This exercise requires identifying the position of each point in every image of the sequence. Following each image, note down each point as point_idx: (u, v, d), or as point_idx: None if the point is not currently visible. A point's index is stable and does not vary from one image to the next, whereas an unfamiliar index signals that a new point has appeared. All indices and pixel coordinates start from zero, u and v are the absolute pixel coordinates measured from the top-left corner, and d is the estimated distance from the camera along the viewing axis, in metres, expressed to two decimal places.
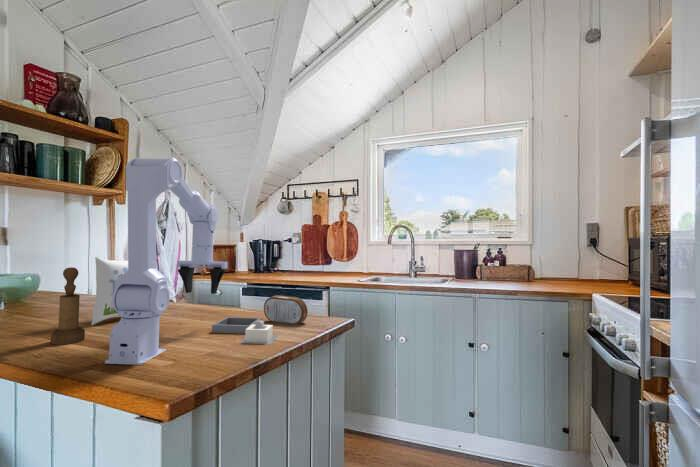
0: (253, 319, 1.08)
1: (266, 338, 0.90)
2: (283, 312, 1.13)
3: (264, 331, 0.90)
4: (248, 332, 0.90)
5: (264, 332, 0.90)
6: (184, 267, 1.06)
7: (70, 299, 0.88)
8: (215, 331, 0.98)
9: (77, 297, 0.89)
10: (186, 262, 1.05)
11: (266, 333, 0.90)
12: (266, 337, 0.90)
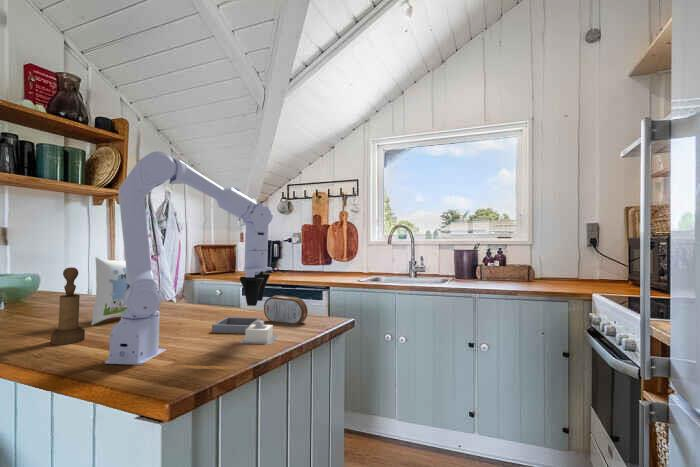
0: (253, 319, 1.08)
1: (266, 338, 0.90)
2: (283, 312, 1.13)
3: (264, 331, 0.90)
4: (248, 332, 0.90)
5: (264, 332, 0.90)
6: None
7: (70, 299, 0.88)
8: (215, 331, 0.98)
9: (77, 297, 0.89)
10: None
11: (266, 333, 0.90)
12: (266, 337, 0.90)
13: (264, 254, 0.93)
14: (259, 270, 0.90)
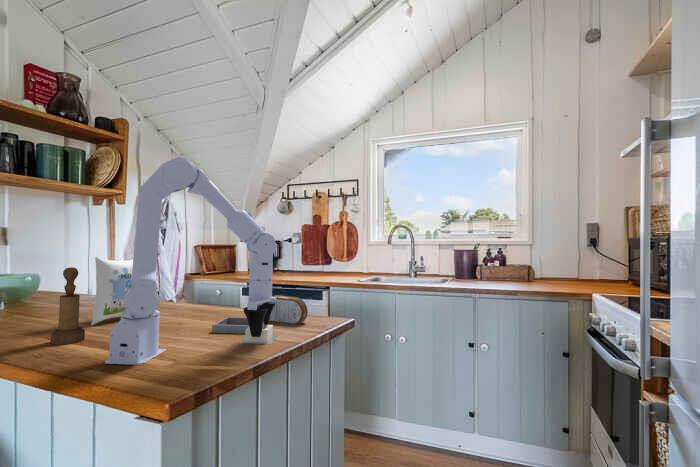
0: None
1: (266, 338, 0.90)
2: (283, 312, 1.13)
3: (264, 331, 0.90)
4: (248, 332, 0.90)
5: (264, 332, 0.90)
6: None
7: (70, 299, 0.88)
8: (215, 331, 0.98)
9: (77, 297, 0.89)
10: None
11: (266, 333, 0.90)
12: (266, 337, 0.90)
13: (268, 284, 0.91)
14: (262, 301, 0.88)
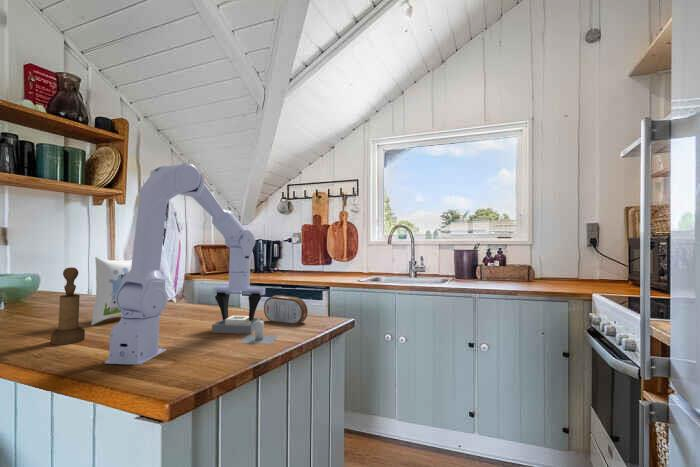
0: (253, 319, 1.08)
1: (250, 323, 1.06)
2: (283, 312, 1.13)
3: None
4: (245, 321, 1.01)
5: None
6: (220, 293, 1.03)
7: (70, 299, 0.88)
8: (215, 331, 0.98)
9: (77, 297, 0.89)
10: (223, 289, 1.02)
11: None
12: (250, 322, 1.06)
13: None
14: None
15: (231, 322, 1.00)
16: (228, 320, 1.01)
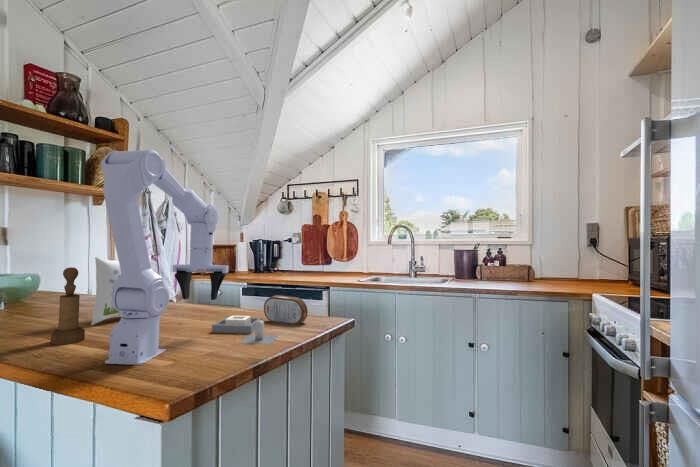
0: (253, 319, 1.08)
1: (250, 323, 1.06)
2: (283, 312, 1.13)
3: (250, 317, 1.05)
4: (245, 321, 1.01)
5: (250, 318, 1.05)
6: (181, 271, 0.98)
7: (70, 299, 0.88)
8: (215, 331, 0.98)
9: (77, 297, 0.89)
10: (183, 266, 0.97)
11: (250, 319, 1.06)
12: (250, 322, 1.06)
13: None
14: None
15: (231, 322, 1.00)
16: (228, 320, 1.01)
